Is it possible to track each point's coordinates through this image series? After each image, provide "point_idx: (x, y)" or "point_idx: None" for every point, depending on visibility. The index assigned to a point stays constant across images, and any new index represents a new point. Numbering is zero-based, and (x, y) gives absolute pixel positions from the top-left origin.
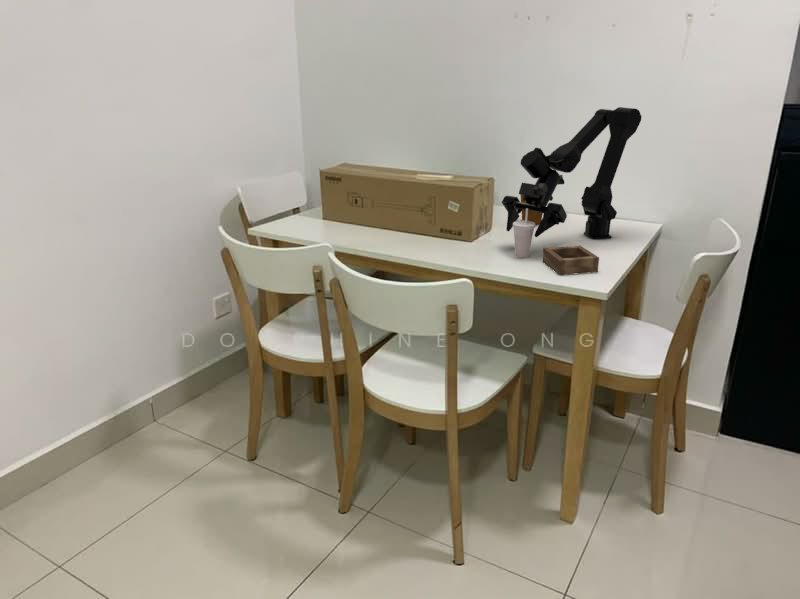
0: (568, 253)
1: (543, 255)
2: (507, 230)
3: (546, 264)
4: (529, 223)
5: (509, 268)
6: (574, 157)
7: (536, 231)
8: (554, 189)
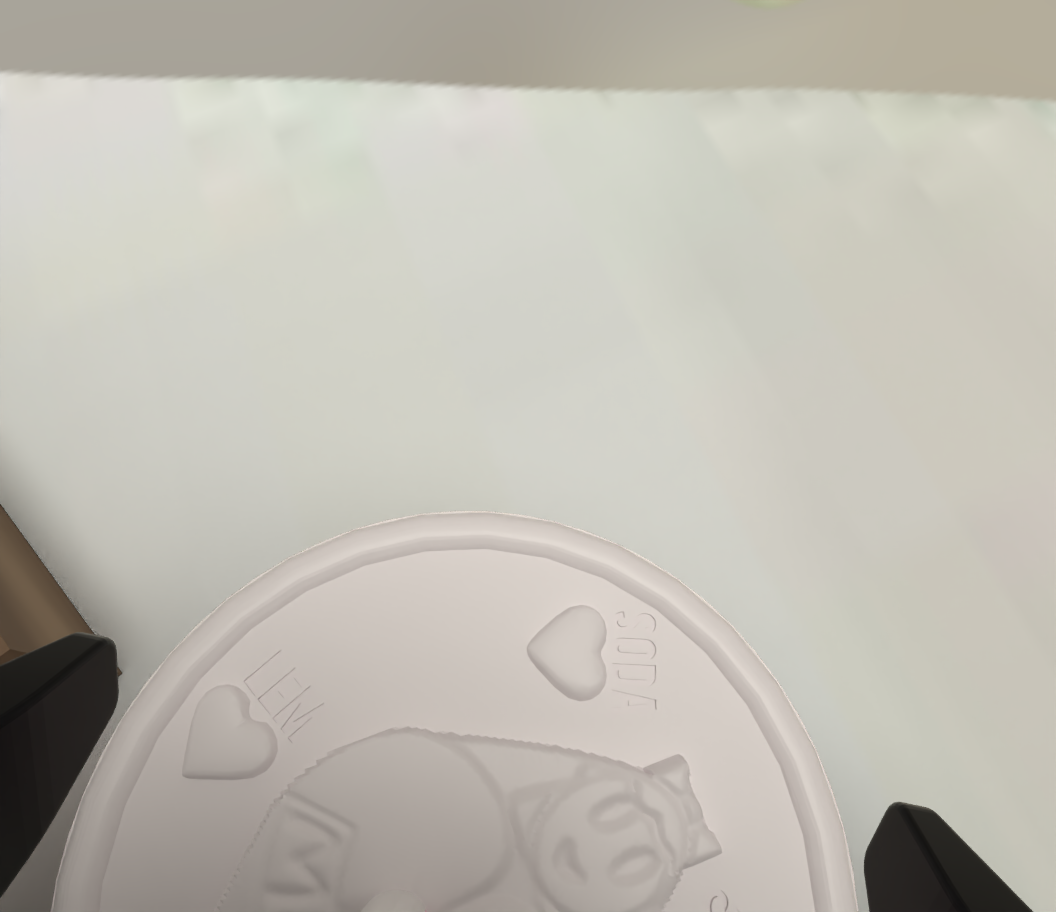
0: None
1: None
2: (890, 820)
3: (39, 563)
4: (246, 890)
5: (446, 273)
6: None
7: (24, 683)
8: None
